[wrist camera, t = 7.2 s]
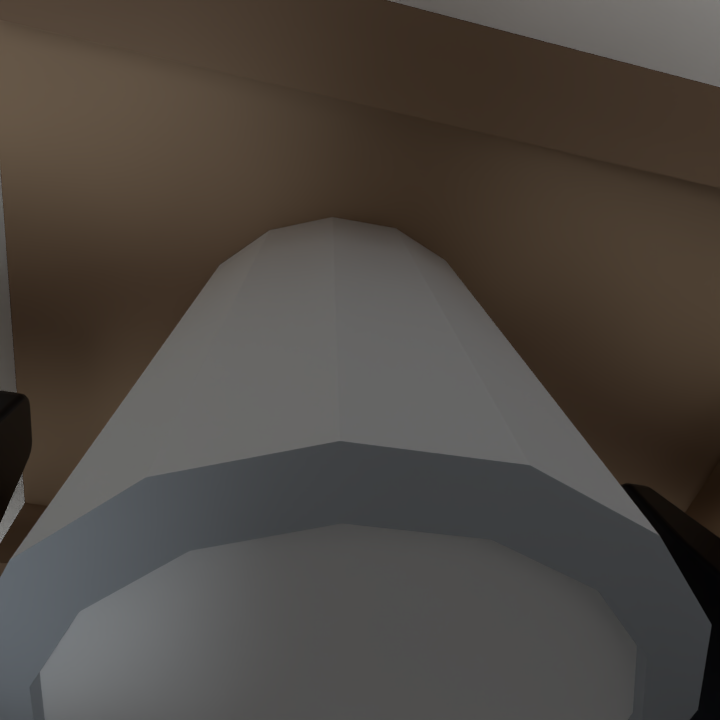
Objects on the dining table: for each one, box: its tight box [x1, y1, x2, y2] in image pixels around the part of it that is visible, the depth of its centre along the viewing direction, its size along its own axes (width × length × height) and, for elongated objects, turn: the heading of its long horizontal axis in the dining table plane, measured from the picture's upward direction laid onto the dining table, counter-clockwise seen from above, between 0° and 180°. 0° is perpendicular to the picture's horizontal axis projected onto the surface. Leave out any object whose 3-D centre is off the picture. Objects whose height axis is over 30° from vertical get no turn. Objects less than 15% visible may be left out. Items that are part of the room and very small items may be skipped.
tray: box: [0, 0, 720, 577], centre depth 12 cm, size 12×16×3 cm
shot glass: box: [0, 217, 712, 720], centre depth 9 cm, size 7×7×7 cm
